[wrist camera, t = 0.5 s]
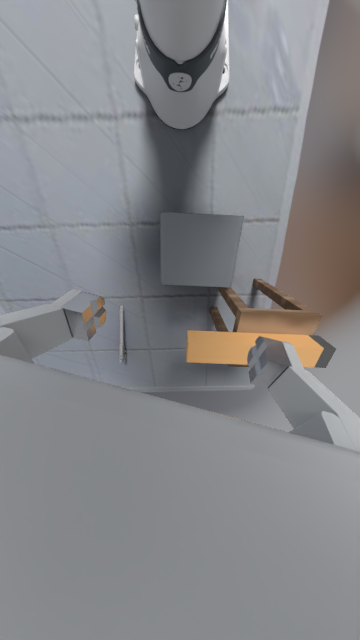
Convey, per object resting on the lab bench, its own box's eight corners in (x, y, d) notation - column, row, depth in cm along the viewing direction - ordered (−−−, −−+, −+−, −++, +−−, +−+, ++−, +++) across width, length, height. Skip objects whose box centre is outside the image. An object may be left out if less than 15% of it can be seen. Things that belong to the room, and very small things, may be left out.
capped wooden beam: (187, 330, 31) (188, 342, 28) (318, 335, 31) (336, 348, 28) (186, 348, 33) (186, 362, 29) (310, 353, 33) (325, 367, 30)
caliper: (127, 354, 67) (122, 365, 61) (124, 354, 67) (119, 365, 61) (123, 305, 57) (117, 313, 52) (120, 305, 57) (114, 313, 52)
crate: (166, 217, 46) (160, 211, 33) (226, 220, 46) (243, 215, 33) (165, 271, 52) (160, 284, 39) (218, 273, 52) (230, 287, 39)
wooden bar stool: (215, 277, 53) (241, 312, 29) (260, 279, 53) (322, 315, 30) (210, 312, 58) (229, 366, 35) (251, 314, 58) (297, 368, 35)
